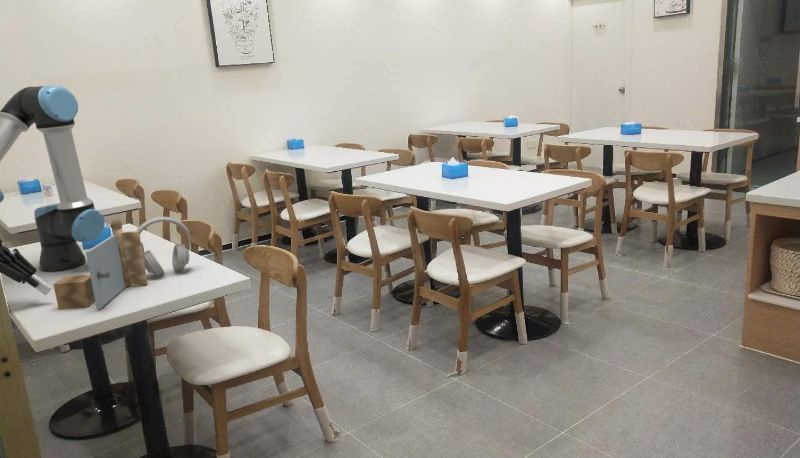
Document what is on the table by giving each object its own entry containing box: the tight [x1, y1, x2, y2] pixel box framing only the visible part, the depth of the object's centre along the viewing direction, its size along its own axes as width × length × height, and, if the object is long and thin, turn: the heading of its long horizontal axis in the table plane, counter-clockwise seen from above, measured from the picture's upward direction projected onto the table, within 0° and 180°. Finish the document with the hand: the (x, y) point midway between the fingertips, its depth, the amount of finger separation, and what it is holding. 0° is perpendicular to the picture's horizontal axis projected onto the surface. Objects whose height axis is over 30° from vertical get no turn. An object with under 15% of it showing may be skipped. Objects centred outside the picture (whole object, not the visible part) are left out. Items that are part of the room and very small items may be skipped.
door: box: [85, 234, 127, 310], centre depth 186 cm, size 4×20×18 cm, turn 3°
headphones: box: [135, 216, 192, 277], centre depth 207 cm, size 19×9×20 cm, turn 120°
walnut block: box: [53, 274, 96, 310], centre depth 184 cm, size 9×7×8 cm
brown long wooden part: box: [110, 219, 149, 289], centre depth 196 cm, size 8×3×22 cm, turn 93°
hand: (48, 291), depth 186 cm, fingers closed
